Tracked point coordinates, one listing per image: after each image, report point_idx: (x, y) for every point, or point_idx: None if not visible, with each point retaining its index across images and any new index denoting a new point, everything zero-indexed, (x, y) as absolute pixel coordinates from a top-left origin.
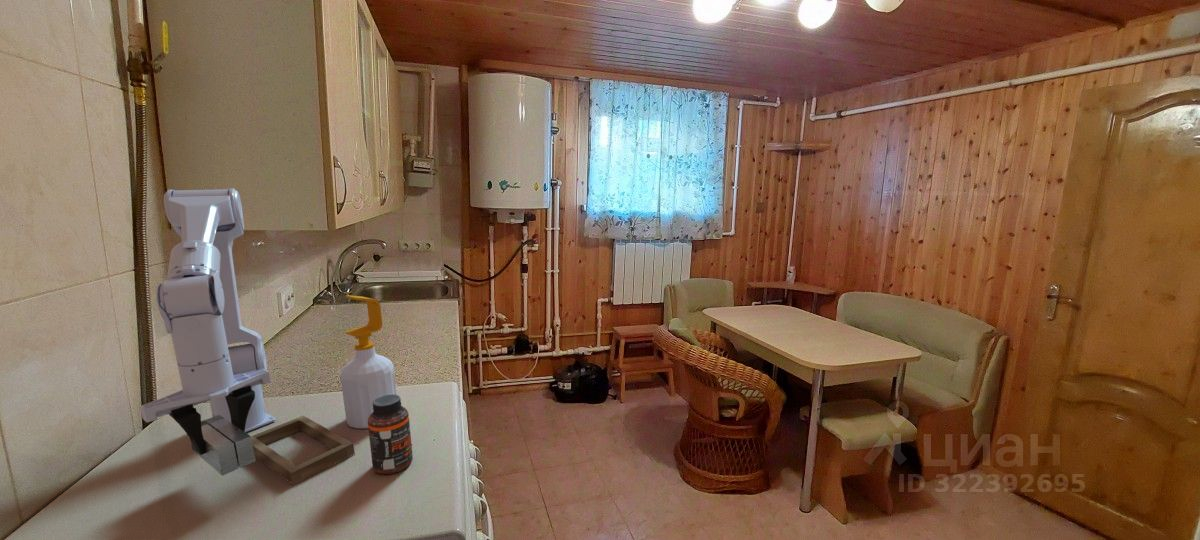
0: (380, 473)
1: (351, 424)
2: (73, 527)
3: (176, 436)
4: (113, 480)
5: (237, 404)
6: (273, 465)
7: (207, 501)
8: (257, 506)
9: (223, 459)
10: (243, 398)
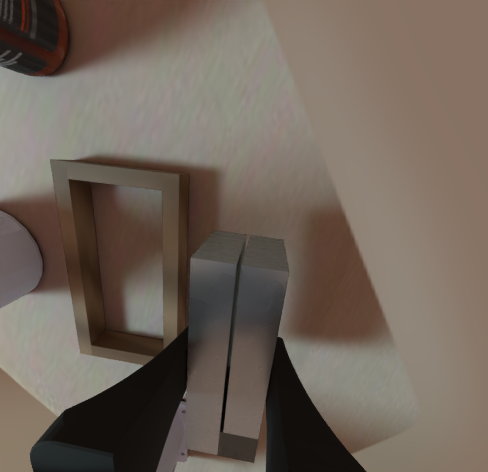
0: (63, 11)
1: (34, 256)
2: (401, 377)
3: (222, 465)
4: None
5: (136, 424)
6: (183, 256)
7: None
8: (256, 169)
9: (276, 252)
10: (92, 440)
